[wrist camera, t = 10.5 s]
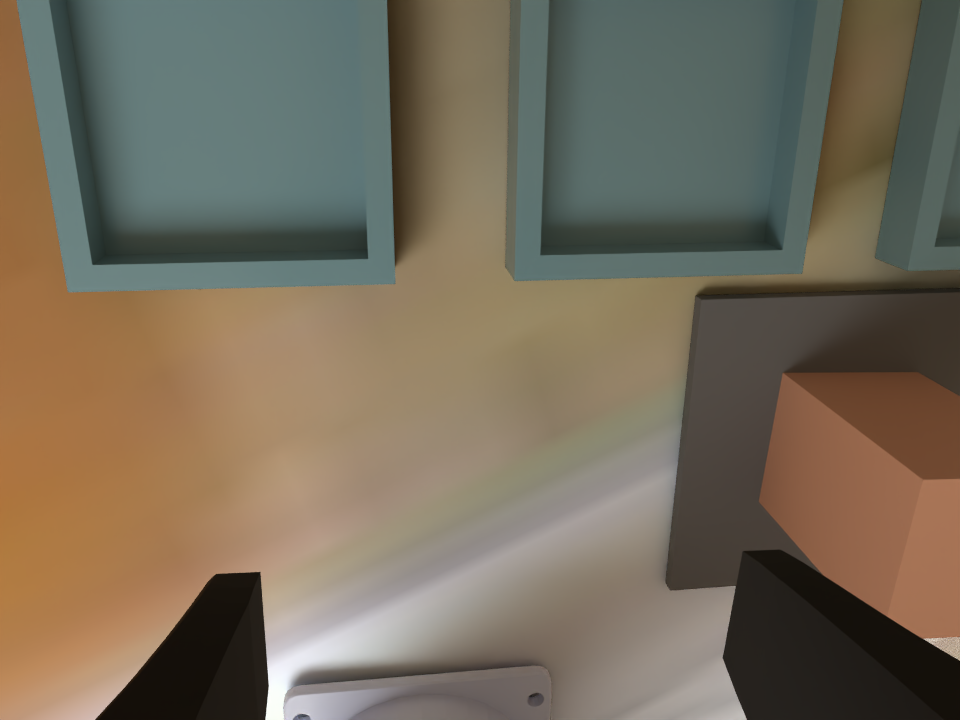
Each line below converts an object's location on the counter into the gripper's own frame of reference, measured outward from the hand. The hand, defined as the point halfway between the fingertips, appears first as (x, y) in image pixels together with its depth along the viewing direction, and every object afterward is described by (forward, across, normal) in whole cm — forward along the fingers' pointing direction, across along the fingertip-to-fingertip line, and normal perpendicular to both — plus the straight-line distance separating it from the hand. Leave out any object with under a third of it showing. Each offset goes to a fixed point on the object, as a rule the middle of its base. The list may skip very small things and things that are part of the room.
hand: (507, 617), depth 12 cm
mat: (+10, -11, +2) cm, 15 cm away
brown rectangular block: (+10, -11, +2) cm, 15 cm away
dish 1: (+10, +5, -6) cm, 13 cm away
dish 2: (+10, -5, -6) cm, 13 cm away
